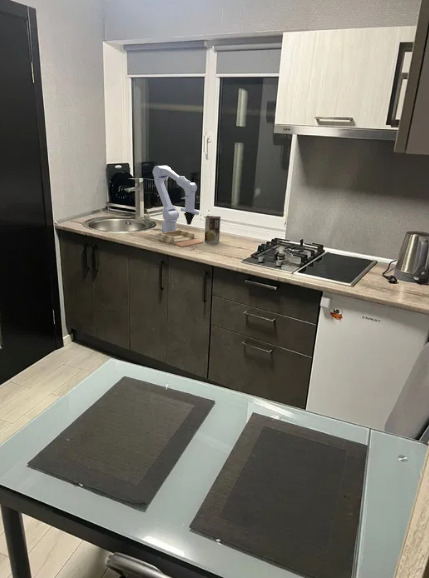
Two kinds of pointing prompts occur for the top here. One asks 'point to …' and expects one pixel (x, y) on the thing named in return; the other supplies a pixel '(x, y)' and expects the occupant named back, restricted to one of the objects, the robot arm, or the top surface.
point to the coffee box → (212, 229)
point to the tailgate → (188, 243)
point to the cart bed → (176, 236)
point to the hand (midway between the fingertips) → (189, 224)
